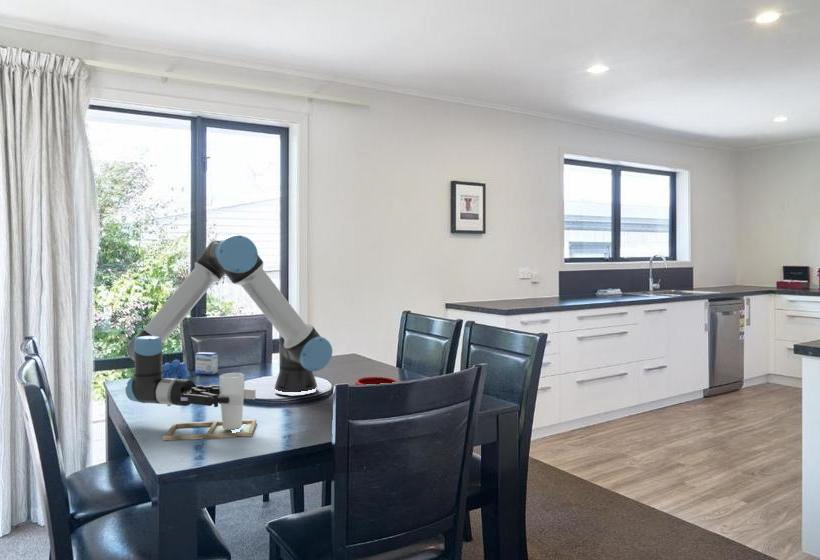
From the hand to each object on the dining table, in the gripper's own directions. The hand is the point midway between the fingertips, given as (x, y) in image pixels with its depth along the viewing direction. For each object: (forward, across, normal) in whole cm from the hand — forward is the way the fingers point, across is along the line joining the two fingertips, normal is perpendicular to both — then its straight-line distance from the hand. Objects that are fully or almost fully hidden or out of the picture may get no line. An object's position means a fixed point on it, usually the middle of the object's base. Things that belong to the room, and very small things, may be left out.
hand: (247, 397), depth 159 cm
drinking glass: (-5, 0, -9) cm, 10 cm away
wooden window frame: (-10, +2, -10) cm, 14 cm away
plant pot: (+31, -21, -10) cm, 39 cm away
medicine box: (-60, -67, -10) cm, 91 cm away
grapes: (-51, -34, -10) cm, 62 cm away
